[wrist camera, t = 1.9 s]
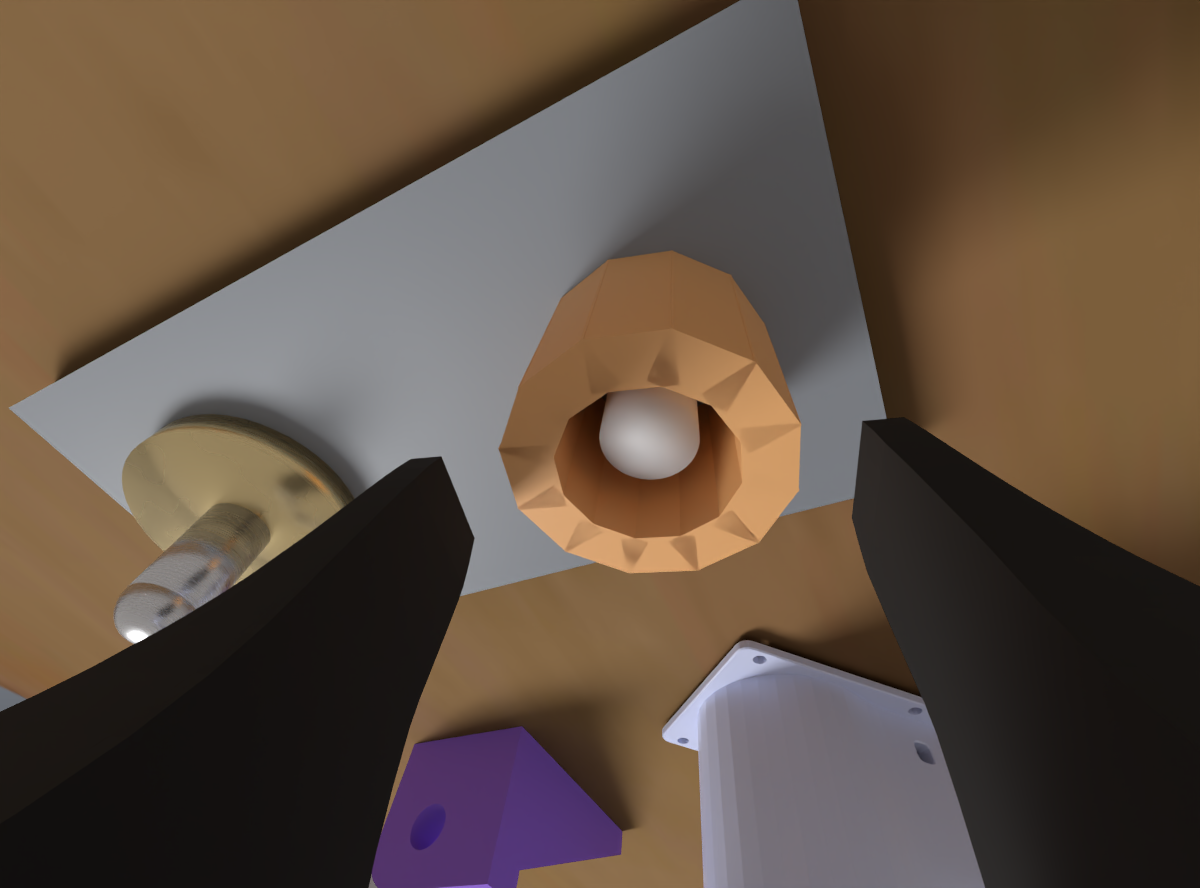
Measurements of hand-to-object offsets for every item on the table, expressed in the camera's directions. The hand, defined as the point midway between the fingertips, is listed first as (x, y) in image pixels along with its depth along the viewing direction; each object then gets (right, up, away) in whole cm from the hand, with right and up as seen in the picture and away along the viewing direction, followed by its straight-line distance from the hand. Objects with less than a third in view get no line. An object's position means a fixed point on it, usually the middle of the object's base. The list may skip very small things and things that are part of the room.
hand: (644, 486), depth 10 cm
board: (-6, +2, +8) cm, 10 cm away
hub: (-12, -1, +9) cm, 15 cm away
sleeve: (+1, +3, +4) cm, 5 cm away
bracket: (-5, -19, +22) cm, 29 cm away
